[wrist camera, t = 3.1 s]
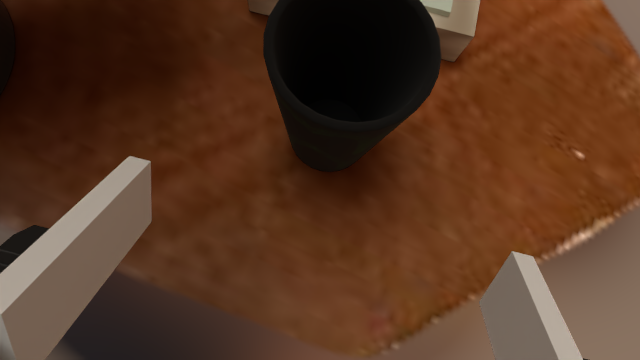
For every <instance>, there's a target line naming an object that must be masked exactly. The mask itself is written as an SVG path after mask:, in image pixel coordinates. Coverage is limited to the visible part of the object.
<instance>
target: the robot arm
mask: <svg viewBox="0 0 640 360" xmlns="http://www.w3.org/2000/svg"><path fill="white" fill-rule="evenodd" d="M14 54H15V37H14V30H13V25H12V22H11V19H10V16H9V14H8V11H7V9H6V8H5V6H4V4H3V3H2V1H1V0H0V94H1V92H2V91H3V89H4V87H5V85H6V83H7V80H8V78H9V75H10V72H11V69H12V65H13V61H14ZM151 222H152V211H151V161H148V160H144V159H140V158H136V157H132V156H129V157H128V158H127V159H125V160H124V161H123V162H122V163H121V164H120V165H119V166H118V167H117V168H116V169H114V170H113V171H112V172H111V173H110V174H109V175H108V176H107V177H106V178H105V179H104V180H102V181H101V182H100V183H99V184H98V185H97V186H96V187H95V188H94V189H93V190H91V191H90V192H89V193H88V194H87V195H86V196H85V197H84V198H83V199H82V200H80V201H79V202H78V203H77V204H76V205H75V206H74V207H73V208H72V209H71V210H70V211H68V212H67V213H66V214H65V215H64V216H63V217H62V218H61V219H60V220H59V221H57V222H56V223H55V224H54V225H53V226H52V227H51V228H50V229H48V228H44V227H40V226H36V225H33V226H31V227H29V228H27V229H25V230H23V231H20V232H18V233H16V234H14V235H13V236H11V237H10V238H9V239H8V240H7V241H6V242H4V243H3V244H2V245H1V246H0V360H45V359H46V358H47V356H48V355H49V354H50V353H51V351H52V350H53V349H54V347H55V346H56V344H57V343H58V342H59V341H60V340H61V338H62V337H63V336H64V334H65V333H66V332H67V330H68V329H69V328H70V327H71V325H72V324H73V323H74V321H75V320H76V319H77V318H78V316H79V315H80V314H81V312H82V311H83V310H84V308H85V307H86V306H87V305H88V303H89V302H90V300H91V299H92V298H93V297H94V296H95V294H96V293H97V291H98V290H99V289H100V288H101V286H102V285H103V284H104V283H105V281H106V280H107V279H108V277H109V276H110V275H111V273H112V272H113V271H114V270H115V268H116V267H117V266H118V264H119V263H120V262H121V261H122V259H123V258H124V257H125V255H126V254H127V253H128V251H129V250H130V249H131V248H132V246H133V245H134V244H135V242H136V241H137V240H138V238H139V237H140V236H141V235H142V233H143V232H144V231H145V229H146V228H147V227H148V226H149V224H150V223H151ZM479 304H480V307H481V311H482V314H483V318H484V321H485V325H486V328H487V332H488V336H489V339H490V342H491V346H492V350H493V353H494V357H495V360H588V359H584V358H582V356H581V354H580V352H579V350H578V348H577V346H576V344H575V342H574V340H573V338H572V336H571V334H570V332H569V330H568V327H567V326H566V324H565V321H564V319H563V317H562V315H561V313H560V311H559V309H558V307H557V305H556V303H555V301H554V299H553V297H552V295H551V293H550V291H549V288H548V286H547V285H546V283H545V280H544V278H543V276H542V274H541V272H540V270H539V268H538V266H537V264H536V262H535V260H534V258H533V256H529V255H525V254H521V253H517V252H513V251H512V252H511V254H510V255H509V257H508V258H507V260H506V261H505V263H504V265H503V266H502V268H501V269H500V271H499V272H498V274H497V275H496V277H495V278H494V280H493V281H492V283H491V284H490V286H489V288H488V289H487V291H486V292H485V294H484V295H483V297H482V298H481V300H480V301H479Z"/></svg>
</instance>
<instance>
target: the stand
mask: <svg viewBox="0 0 640 360" xmlns="http://www.w3.org/2000/svg"><path fill="white" fill-rule="evenodd" d="M420 1H421V2H422V3H423V5H424V6H425V8H426V9H427V11H428V12H429V14H430V16H431V17H432V19H433V21H434V23H435V26H436V29H437V32H438V35H439V38H440V47H441V59H443V60H447V61H451V62H454V61H455V60H456V59H457V57H458V56H459V55H460V54H461V52H462V51H463V50H464V49H465V47H466V46H467V45H468V44H469V42H470V41H471V40H472V39H473V37H474V34H475V28H476V22H477V16H478V10H479V4H480V0H420ZM277 2H278V0H248V5H249V11H252V12H256V13H260V14H264V15H268V16H269V15H270V13H271V12H272V10H273V8H274V7H275V5H276V3H277Z"/></svg>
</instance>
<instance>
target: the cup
mask: <svg viewBox="0 0 640 360" xmlns="http://www.w3.org/2000/svg"><path fill="white" fill-rule="evenodd" d="M263 55H264V58H265V62H266V66H267V70H268V74H269V77H270V80H271V83H272V86H273V89H274V92H275V95H276V98H277V102H278V105H279V108H280V111H281V114H282V117H283V120H284V123H285V126H286V129H287V132H288V135H289V138H290V141H291V144H292V147H293V149H294V151H295V153H296V155H297V156H298V157H299V158H300V159H301V160H302V161H303V162H304V163H305V164H307V165H308V166H310V167H311V168H314V169H317V170H320V171H327V172H332V171H339V170H342V169H345V168H347V167H349V166H350V165H352V164H353V163H355V162H356V161H357V160H358V159H359V158H361V157H362V156H363V155H364V154H365V153H366V152H368V151H369V150H370V149H371V148H372V147H374V146H375V145H376V144H377V143H378V142H379V141H381V140H382V139H383V138H384V137H385V136H387V135H388V134H389V133H390V132H391V131H392V130H394V129H395V128H396V127H397V126H398V125H400V124H401V123H402V122H403V121H404V120H405V119H407V118H408V117H409V116H410V115H411V114H412V113H414V112H415V111H416V110H417V109H418V108H419V107H420V105H421V104H422V103H423V102H424V101H425V100H426V98H427V97H428V96H429V95H430V93H431V91H432V89H433V87H434V84H435V82H436V80H437V78H438V74H439V69H440V63H441V47H440V38H439V35H438V32H437V29H436V26H435V23H434V21H433V19H432V17H431V16H430V14H429V12H428V11H427V9H426V8H425V6H424V5H423V3H422V2H421V1H420V0H278V2H277V3H276V5H275V7H274V8H273V10H272V12H271V13H270V15H269V18H268V21H267V25H266V28H265V32H264V54H263Z"/></svg>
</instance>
